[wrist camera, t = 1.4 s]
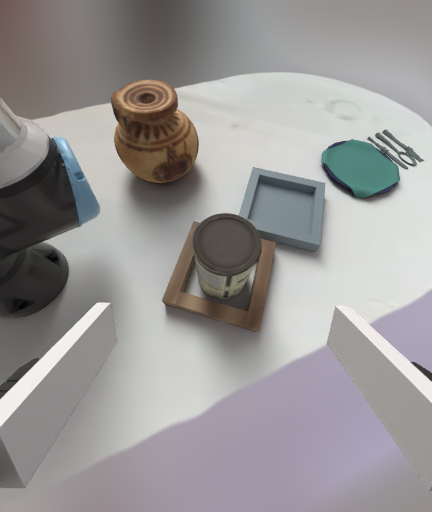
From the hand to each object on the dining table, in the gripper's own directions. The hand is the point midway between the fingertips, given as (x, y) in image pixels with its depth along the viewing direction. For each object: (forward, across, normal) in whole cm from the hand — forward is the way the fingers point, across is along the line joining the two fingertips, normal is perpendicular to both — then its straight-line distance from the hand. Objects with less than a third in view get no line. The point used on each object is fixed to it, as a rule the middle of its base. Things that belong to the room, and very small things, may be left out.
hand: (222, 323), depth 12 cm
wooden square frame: (+29, +1, -10) cm, 31 cm away
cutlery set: (+54, +43, +14) cm, 70 cm away
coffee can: (+29, +1, -10) cm, 31 cm away
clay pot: (+50, -14, +12) cm, 54 cm away
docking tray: (+41, +15, +2) cm, 44 cm away
